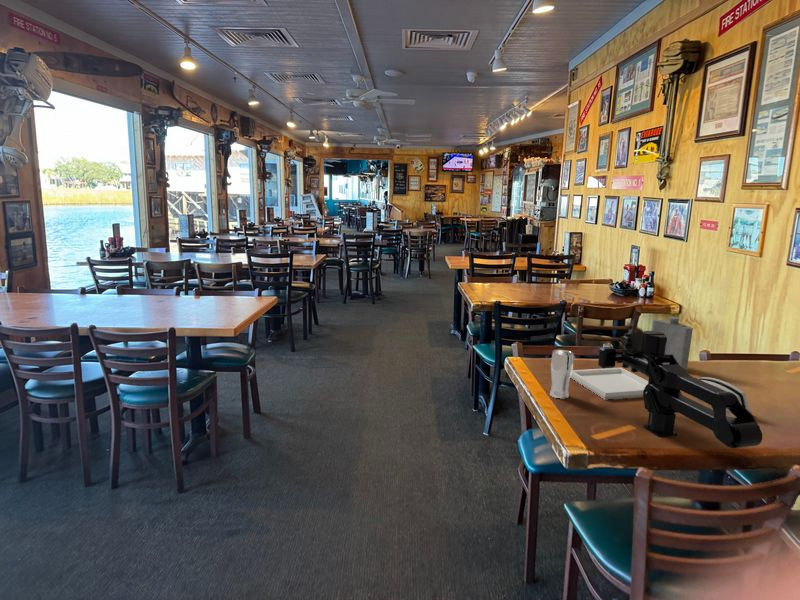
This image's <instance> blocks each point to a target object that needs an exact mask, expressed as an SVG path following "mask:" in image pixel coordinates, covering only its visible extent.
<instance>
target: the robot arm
mask: <svg viewBox="0 0 800 600" xmlns="http://www.w3.org/2000/svg"><path fill="white" fill-rule="evenodd" d="M666 342H667V337H666V335H665V334H664V333H662V332H657V331H652V330H644V331H643V332H642V331H636V332H634V331H633V332H626V333H623V336H620V344H621V346H622V348H621V349H622V354H617V350H616V348H614V347H612V346H604V347H603V346H602V347H600V348H599V347H597V353H598V367H600V369H604V368H616V364H622V365H621V366H622V367H621V368H623V369H630V370H631V371H630V372H631V373H640V374H641V375H644V376H646V377H648V380H647V381H648V384H647V385H646V387H645V389H644V391H643V397H642V398H643V403H644V405H643V406H644V409H645V410H646V411H647V412H648V418H647V424H643V428H645V429H646V430H648V431H650V433H652V434H654V435H656V436H657V437H669V436H677V435H678V434H679V432H677V431H676V430H674V429H675V424H676V415H677V414H678V413H679V414H680V415H682V416H684V417H686V418H688V419H689V420H691V421H693V422H695V423H697V424H700V425H701V426H703V427H705V428H706V429H708V430H711V431H712V432H713V434H714V437H715V438H716V439H717V440H718V441H719V442H720V443H722V444H723V445H724V446H726V447H727V448H729V449H738V448H739V449H740V448H749V447H757V446H759V445H760V444H761V443H762V442H763V441H762V440H763V432H762V430H761V426H760V425H759V424H758V422H757V421H756V419H755V417H754V415H753V413H752V414H751V413H750V412H749V411H748V410H747V409H746V408H745V407H743V406H742V405H741V404H740V402H739V400H738V398H737V397H736V395H735V394H733V393H731V392H726V391H724V390H722V389H720V388H717V387H715V386H713V385H710V384H708V383H706V382H704V381H701V380H699V378H697V377H694V376H692V375H690V374H689V372H688V369H687V370H686V369H684V368H683V367H681V366H680V365H679V364H678V362H677V361H676V359H675V358H674V356H673V355H672V354H670V355H667V354H665V347H666ZM662 363H669V364H665V365H663V364H662ZM682 392H683V393H685V394H687V395H690V396H692V397H693V398H694V397H695V398H694V399H696V398H697V399H696V400H698V399H699V400H698V401H700V400H702V401H701V402H703V401H704V402H703V403H705V402H706V403H705V404H708V405H710V406H711V408H710V407H707V406H706V405H704V404H701V403H700V402H698V401H695V400H693V399H691V398H689V397H687V396H685V395H683V394H682ZM726 409H729V411H730V412H731V413H730V412H729V413H730V414H732V415H733V416H734V417H733V416H728V415H727V411H726Z"/></svg>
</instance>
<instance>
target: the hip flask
mask: <svg viewBox="0 0 800 600" xmlns="http://www.w3.org/2000/svg"><path fill="white" fill-rule="evenodd" d="M668 320H669V321H667V320H662V319H658V318H657V319H652V323H651V331H657V332H662V333H664V334H665V335H666V337H667V342H666V347H665V354H667V355H670V354H672V355H673V356H674V358H675V359H676V361H677V362H678V364H679V365H680V366H681V367H683V368H684V369H686V370H687V371H688V365H689V358H690V351H691V346H692V345H691V344H692V337H693V331H694V327H691V326H688V325H686V324H682V323H679V321H680V317H678V316H677V317H676V316H669V317H668ZM662 364H663V365H665V364H669V363H662Z"/></svg>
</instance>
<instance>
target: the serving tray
mask: <svg viewBox="0 0 800 600" xmlns="http://www.w3.org/2000/svg"><path fill="white" fill-rule="evenodd" d="M571 378H572V379H573V381H574V380H575V381H576V382H575V381H574V382H575V383H577V382H578V383H579V384H578V383H577V384H578V385H580V384H581V385H580V386H582V385H583V386H584V388H585V387H586V388H587V389H586V388H585V389H586V390H588V389H589V390H591V391H592V392H591V391H590V392H591V393H593V392H594V393H595V394H594V393H593V394H594V395H596V394H597V395H598V396H597V395H596V396H597V397H599V396H600V397H601V398H600V397H599V398H600V399H602V398H603V399H602V400H603V401H609V400H608V399H614V400H624V399H625V398H627V399H641V398H644V397H643V391H644V389H645V387H646V385H647V384H648V380H647V379H645V378H643V377H641V376H639V375H637V374H634V372H631V371H628V370H627V369H626V368H623V367H613V368H604V369H603V368H593V369H592V368H590V369H588V368H587V369H573V371H572V375H571ZM572 379H571V380H572ZM583 386H582V387H583ZM589 390H588V391H589ZM623 398H624V399H623Z"/></svg>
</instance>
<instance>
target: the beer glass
mask: <svg viewBox="0 0 800 600" xmlns="http://www.w3.org/2000/svg"><path fill="white" fill-rule="evenodd" d="M573 370H574V352H572V351H570V350H566V349H554V350H552V354H551V362H550V375H551V376H550V377H551V387H550V392H549V395H550V397H551V396H552V398H553V397H554V398H553V399H556V398H560V399H559V400H566V399H565V398H567V399H569V397H570V396H569V386H570V381H571V379H570V378H571V375H572V371H573Z"/></svg>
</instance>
